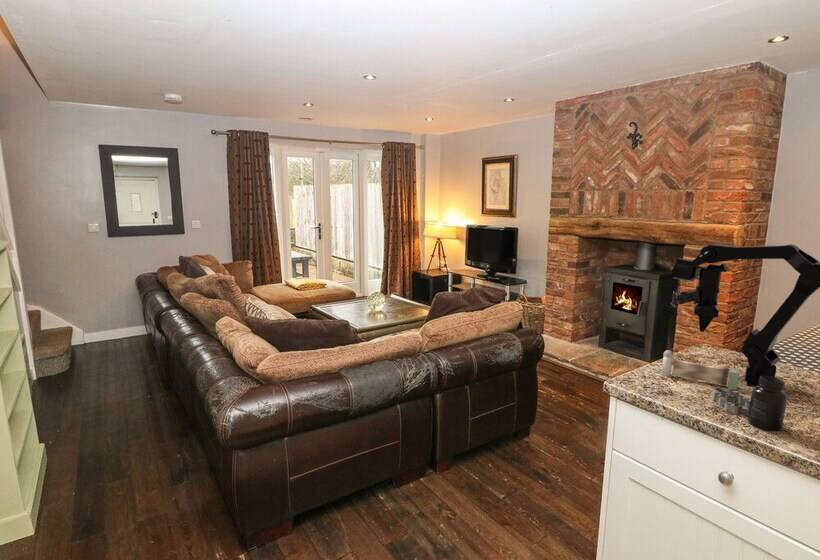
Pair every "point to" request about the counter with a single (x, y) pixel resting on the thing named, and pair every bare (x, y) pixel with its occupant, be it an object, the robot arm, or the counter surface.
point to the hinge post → (667, 363)
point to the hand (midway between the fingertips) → (701, 331)
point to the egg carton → (731, 400)
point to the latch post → (733, 378)
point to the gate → (701, 372)
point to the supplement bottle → (768, 404)
